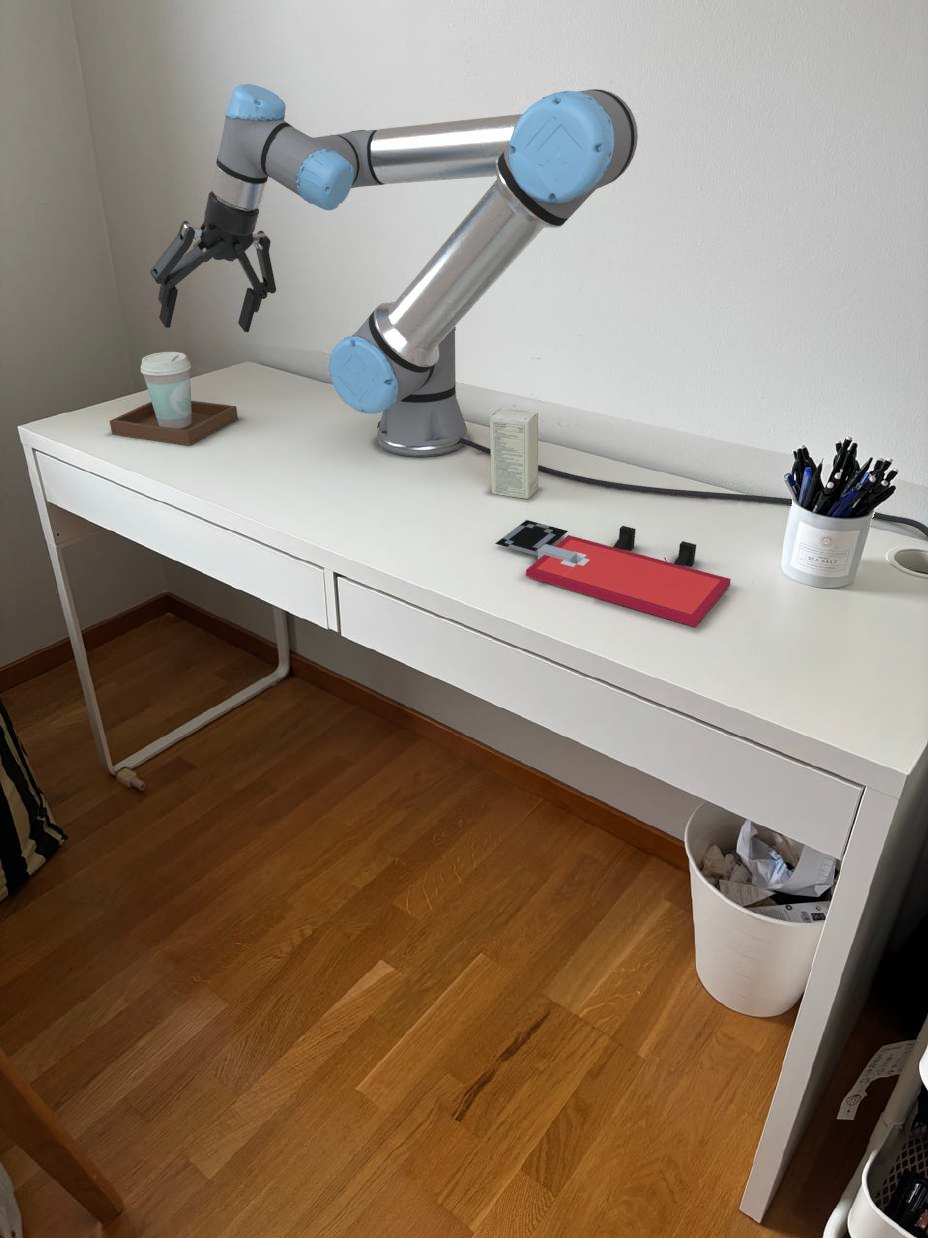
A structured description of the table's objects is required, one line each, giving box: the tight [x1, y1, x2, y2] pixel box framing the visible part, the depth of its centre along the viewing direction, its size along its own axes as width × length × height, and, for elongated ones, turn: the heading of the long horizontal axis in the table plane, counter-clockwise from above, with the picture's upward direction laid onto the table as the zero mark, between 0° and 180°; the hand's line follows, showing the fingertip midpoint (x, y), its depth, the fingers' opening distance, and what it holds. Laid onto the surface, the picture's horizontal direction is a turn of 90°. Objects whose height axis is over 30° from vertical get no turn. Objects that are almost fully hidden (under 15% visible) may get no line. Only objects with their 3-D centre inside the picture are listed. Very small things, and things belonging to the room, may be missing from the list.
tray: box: [109, 400, 239, 447], centre depth 171 cm, size 17×15×2 cm
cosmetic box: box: [489, 408, 539, 500], centre depth 141 cm, size 6×4×12 cm
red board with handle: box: [494, 519, 732, 628], centre depth 122 cm, size 30×3×15 cm
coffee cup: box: [140, 351, 192, 429], centre depth 169 cm, size 8×8×12 cm
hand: (205, 325), depth 155 cm, fingers open, 13 cm apart
